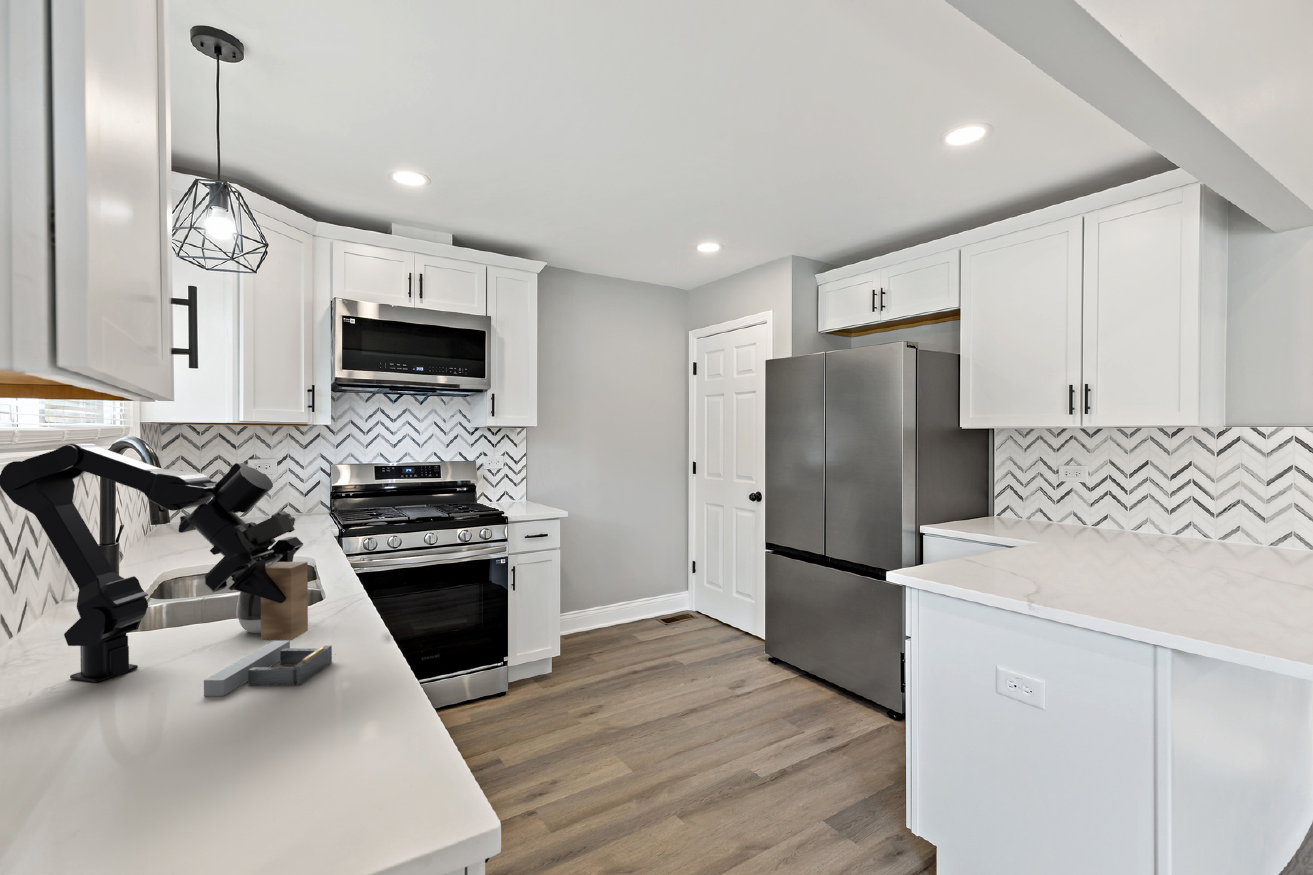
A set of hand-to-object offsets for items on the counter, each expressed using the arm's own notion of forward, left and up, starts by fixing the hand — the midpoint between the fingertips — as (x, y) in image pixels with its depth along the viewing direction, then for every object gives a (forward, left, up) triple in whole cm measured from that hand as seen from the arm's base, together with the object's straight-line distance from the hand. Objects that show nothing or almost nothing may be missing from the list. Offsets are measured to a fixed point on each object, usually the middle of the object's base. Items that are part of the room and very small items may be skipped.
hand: (293, 596), depth 106 cm
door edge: (-7, -2, -13) cm, 15 cm away
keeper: (-1, 0, -13) cm, 13 cm away
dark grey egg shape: (-25, +17, -13) cm, 33 cm away
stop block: (-1, 0, -7) cm, 7 cm away
